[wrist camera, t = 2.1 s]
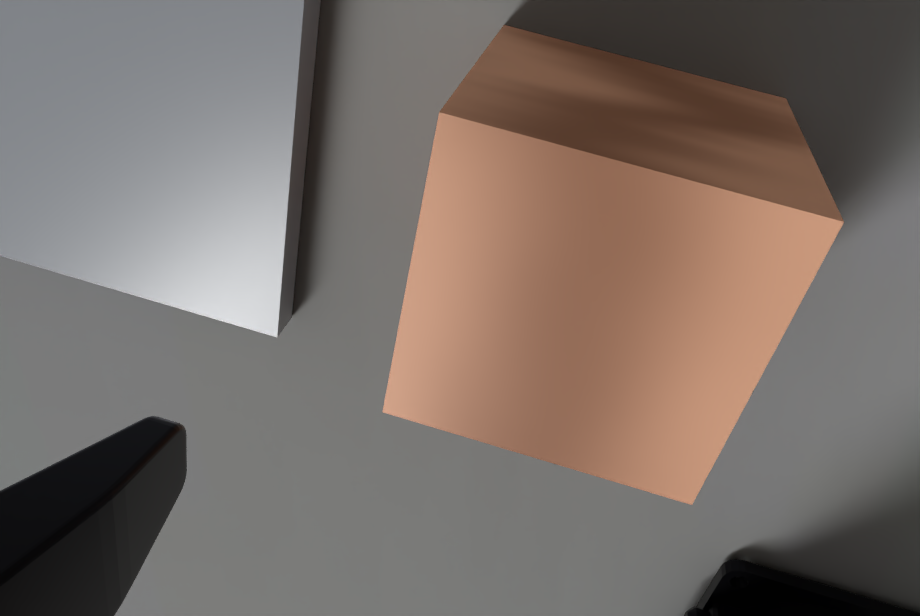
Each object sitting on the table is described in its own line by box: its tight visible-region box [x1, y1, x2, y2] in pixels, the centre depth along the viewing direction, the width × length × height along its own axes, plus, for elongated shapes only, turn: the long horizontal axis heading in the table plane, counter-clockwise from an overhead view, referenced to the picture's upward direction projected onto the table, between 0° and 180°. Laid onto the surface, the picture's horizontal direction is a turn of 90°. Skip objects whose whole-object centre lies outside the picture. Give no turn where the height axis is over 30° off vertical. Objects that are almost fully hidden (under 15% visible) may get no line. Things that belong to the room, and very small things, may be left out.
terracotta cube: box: [383, 25, 844, 505], centre depth 15 cm, size 6×6×6 cm
